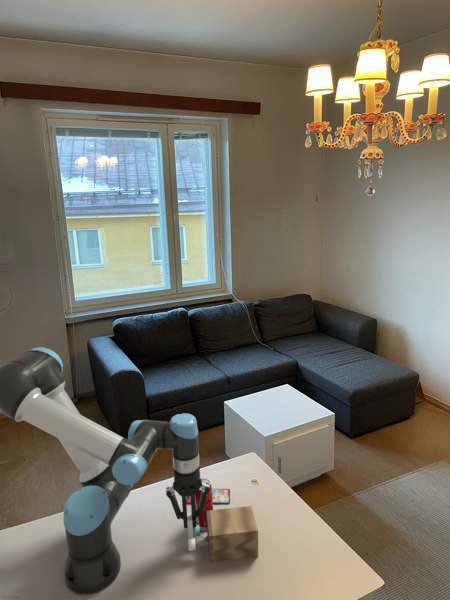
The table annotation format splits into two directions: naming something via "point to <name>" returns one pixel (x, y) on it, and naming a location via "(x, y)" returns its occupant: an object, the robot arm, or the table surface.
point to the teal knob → (199, 530)
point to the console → (232, 534)
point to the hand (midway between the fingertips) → (190, 535)
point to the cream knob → (196, 543)
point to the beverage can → (207, 506)
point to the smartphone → (217, 497)
